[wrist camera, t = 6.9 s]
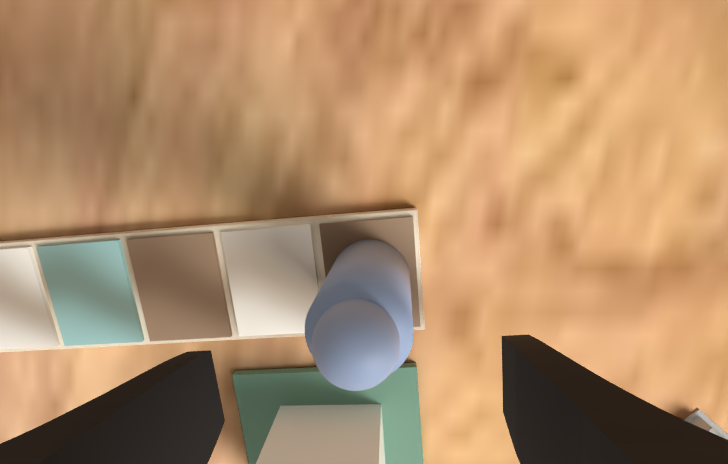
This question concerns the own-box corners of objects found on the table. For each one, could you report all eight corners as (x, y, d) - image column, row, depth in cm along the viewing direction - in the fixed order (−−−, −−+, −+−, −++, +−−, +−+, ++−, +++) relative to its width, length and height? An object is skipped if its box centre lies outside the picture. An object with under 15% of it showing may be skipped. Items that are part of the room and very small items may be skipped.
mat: (426, 514, 20) (427, 522, 20) (262, 516, 21) (259, 523, 21) (415, 362, 19) (416, 367, 18) (235, 370, 19) (231, 375, 19)
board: (423, 323, 18) (425, 331, 17) (-4, 346, 20) (-20, 355, 19) (416, 207, 17) (417, 210, 16) (-38, 244, 19) (-56, 248, 18)
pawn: (410, 313, 17) (415, 426, 10) (334, 312, 17) (292, 421, 11) (409, 239, 16) (415, 309, 10) (330, 239, 17) (281, 308, 10)
